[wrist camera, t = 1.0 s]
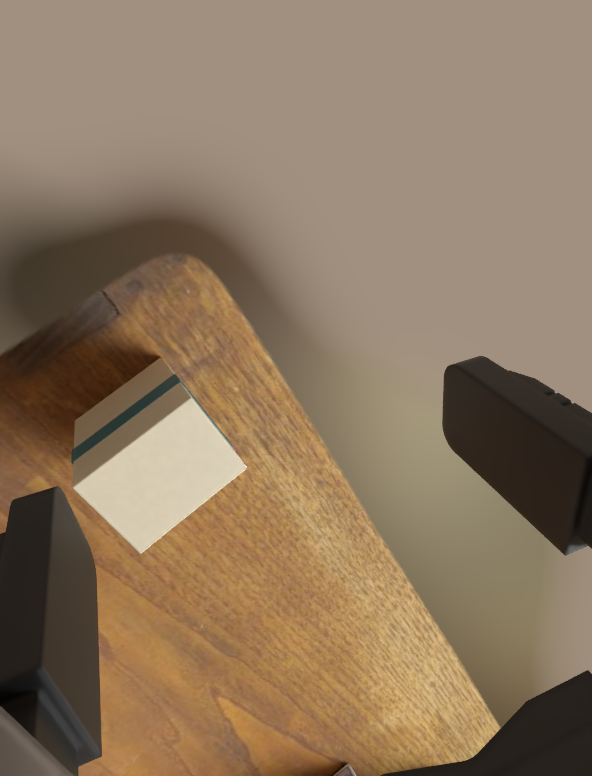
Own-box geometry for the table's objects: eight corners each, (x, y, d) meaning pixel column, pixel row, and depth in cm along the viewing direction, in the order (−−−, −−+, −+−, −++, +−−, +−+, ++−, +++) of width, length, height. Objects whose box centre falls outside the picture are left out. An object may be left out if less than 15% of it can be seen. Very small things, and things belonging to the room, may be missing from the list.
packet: (206, 411, 32) (249, 468, 24) (124, 474, 31) (140, 556, 23) (161, 355, 30) (191, 395, 22) (72, 420, 29) (69, 487, 21)
